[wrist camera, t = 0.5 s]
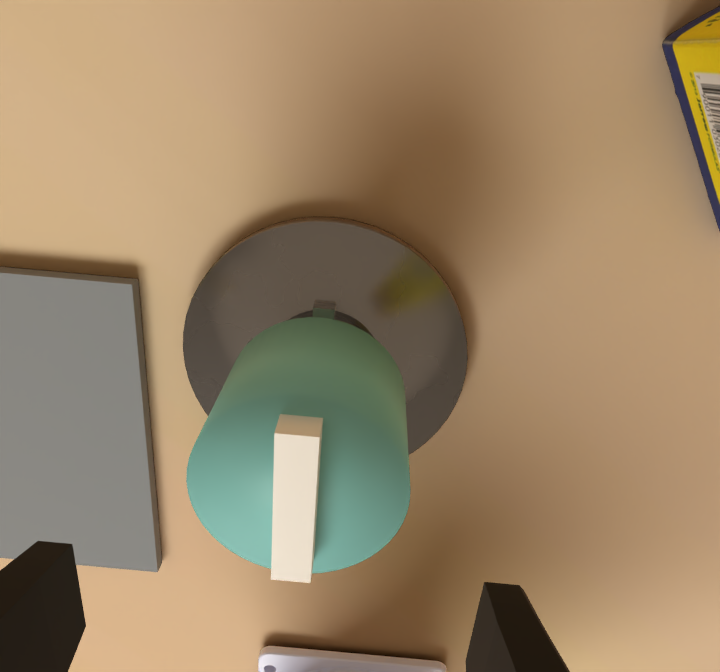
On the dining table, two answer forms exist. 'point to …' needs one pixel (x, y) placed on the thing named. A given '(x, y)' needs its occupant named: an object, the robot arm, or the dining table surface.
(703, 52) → the supplement box
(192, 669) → the dining table surface
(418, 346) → the metal flanged disc
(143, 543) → the mat
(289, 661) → the robot arm
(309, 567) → the cap
